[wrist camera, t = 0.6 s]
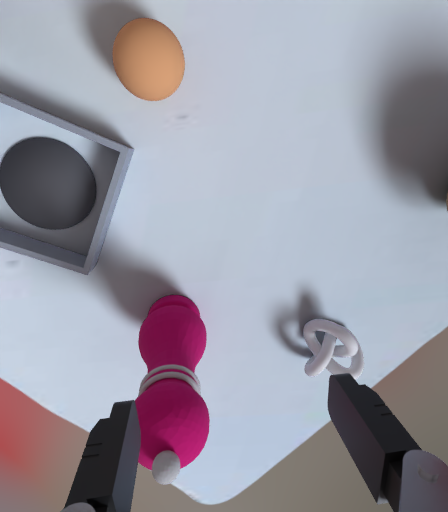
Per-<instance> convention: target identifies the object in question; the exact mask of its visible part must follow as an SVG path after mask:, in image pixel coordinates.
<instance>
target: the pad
mask: <svg viewBox="0 0 448 512" xmlns="http://www.w3.org/2000/svg"><path fill="white" fill-rule="evenodd" d="M0 187H1V191H2V193H3V196H4V198H5V200H6V202H7V203H8V205H9V206H10V207H11V209H12V210H13V211H14V212H15V213H16V214H17V215H18V216H19V217H21V218H22V219H24V220H25V221H27V222H28V223H30V224H32V225H35V226H37V227H41V228H45V229H55V230H56V229H64V228H68V227H71V226H73V225H75V224H77V223H79V222H80V221H82V220H83V219H84V218H85V217H86V216H87V215H88V213H89V212H90V210H91V209H92V207H93V204H94V201H95V197H96V184H95V179H94V176H93V173H92V171H91V169H90V167H89V165H88V164H87V162H86V161H85V160H84V158H83V157H82V156H81V155H80V154H79V153H78V152H76V151H75V150H74V149H73V148H71V147H69V146H68V145H66V144H64V143H62V142H59V141H56V140H52V139H47V138H33V139H28V140H25V141H22V142H20V143H19V144H17V145H15V146H14V147H13V148H12V149H11V150H10V151H9V152H8V153H7V154H6V156H5V157H4V159H3V161H2V164H1V167H0Z"/></svg>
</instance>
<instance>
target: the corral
mask: <svg viewBox="0 0 448 512" xmlns="http://www.w3.org/2000/svg"><path fill="white" fill-rule="evenodd" d="M0 102H2V103H4V104H6V105H9V106H11V107H14V108H16V109H18V110H21V111H23V112H26V113H28V114H30V115H33V116H35V117H37V118H40V119H42V120H45V121H47V122H49V123H52V124H54V125H57V126H59V127H61V128H64V129H66V130H69V131H71V132H73V133H76V134H78V135H80V136H83V137H85V138H88V139H90V140H92V141H95V142H97V143H100V144H102V145H104V146H107V147H109V148H111V149H114V150H116V151H119V152H120V155H119V158H118V161H117V164H116V167H115V170H114V173H113V177H112V180H111V183H110V186H109V189H108V192H107V195H106V199H105V202H104V205H103V208H102V211H101V214H100V217H99V220H98V224H97V227H96V230H95V233H94V236H93V239H92V242H91V246H90V249H89V252H88V255H87V256H84V255H81V254H78V253H75V252H72V251H69V250H66V249H63V248H60V247H57V246H54V245H51V244H48V243H45V242H42V241H39V240H36V239H33V238H30V237H27V236H24V235H21V234H18V233H15V232H12V231H9V230H6V229H3V228H0V247H1V248H4V249H7V250H10V251H13V252H16V253H20V254H23V255H26V256H29V257H32V258H35V259H38V260H42V261H45V262H48V263H51V264H54V265H57V266H60V267H63V268H67V269H70V270H73V271H76V272H79V273H82V274H85V275H88V274H89V273H90V272H91V270H92V269H93V268H94V267H95V266H96V263H97V260H98V257H99V254H100V251H101V248H102V245H103V242H104V239H105V236H106V233H107V230H108V227H109V224H110V221H111V218H112V215H113V212H114V209H115V206H116V203H117V200H118V197H119V194H120V191H121V188H122V185H123V181H124V178H125V175H126V172H127V169H128V166H129V163H130V160H131V157H132V154H133V151H134V149H132V148H130V147H127V146H125V145H123V144H120V143H118V142H116V141H113V140H111V139H108V138H106V137H104V136H101V135H99V134H97V133H94V132H92V131H90V130H87V129H85V128H83V127H80V126H78V125H76V124H73V123H71V122H68V121H66V120H64V119H61V118H59V117H57V116H54V115H52V114H50V113H47V112H45V111H43V110H40V109H38V108H36V107H33V106H31V105H28V104H26V103H24V102H21V101H19V100H17V99H14V98H12V97H10V96H7V95H5V94H3V93H0Z"/></svg>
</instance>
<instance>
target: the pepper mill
mask: <svg viewBox="0 0 448 512" xmlns="http://www.w3.org/2000/svg"><path fill="white" fill-rule="evenodd" d="M138 343H139V349H140V353H141V356H142V358H143V360H144V362H145V363H146V365H147V368H148V374H147V375H146V376H145V377H144V379H143V380H142V382H141V385H140V390H139V395H138V398H137V399H136V400H135V404H136V409H137V414H138V420H139V425H140V431H141V445H140V452H139V459H138V462H139V463H140V464H141V465H142V466H144V467H146V468H148V469H150V470H152V474H153V477H154V479H155V480H156V481H157V482H158V483H160V484H169V483H171V482H173V481H174V480H175V479H176V478H177V476H178V474H179V471H180V469H181V468H183V467H185V466H186V465H188V464H189V463H191V462H192V461H193V460H194V459H195V458H196V457H197V456H198V455H199V454H200V452H201V451H202V449H203V448H204V446H205V443H206V440H207V437H208V433H209V413H208V409H207V406H206V403H205V402H204V400H203V398H202V397H201V392H200V382H199V380H198V378H197V376H196V375H195V374H194V370H195V367H196V365H197V364H198V362H199V361H200V359H201V358H202V355H203V353H204V350H205V347H206V328H205V325H204V323H203V321H202V320H201V318H200V313H199V310H198V308H197V306H196V305H195V304H194V303H193V302H192V301H191V300H190V299H188V298H186V297H184V296H180V295H169V296H165V297H162V298H161V299H159V300H158V301H156V302H155V303H154V304H153V305H152V307H151V308H150V310H149V313H148V317H147V318H146V319H145V320H144V322H143V324H142V326H141V328H140V332H139V341H138Z"/></svg>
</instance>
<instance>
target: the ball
mask: <svg viewBox="0 0 448 512" xmlns="http://www.w3.org/2000/svg"><path fill="white" fill-rule="evenodd" d="M113 64H114V68H115V71H116V73H117V76H118V78H119V79H120V81H121V83H122V84H123V85H124V87H125V88H126V89H127V90H128V91H129V92H131V93H132V94H133V95H135V96H137V97H138V98H141V99H143V100H148V101H158V100H162V99H165V98H167V97H169V96H170V95H172V94H173V93H174V92H175V91H176V90H177V88H178V87H179V85H180V83H181V81H182V78H183V75H184V69H185V61H184V54H183V50H182V47H181V45H180V43H179V41H178V39H177V37H176V36H175V35H174V33H173V32H172V31H171V30H170V29H169V28H168V27H167V26H165V25H164V24H162V23H161V22H159V21H157V20H153V19H149V18H139V19H135V20H132V21H130V22H128V23H127V24H126V25H124V26H123V27H122V28H121V30H120V31H119V32H118V34H117V36H116V38H115V41H114V45H113Z"/></svg>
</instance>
